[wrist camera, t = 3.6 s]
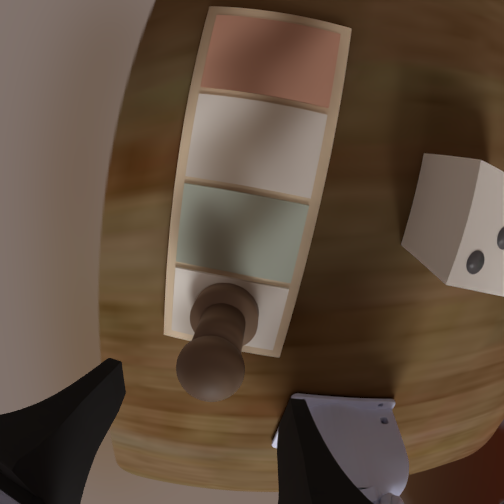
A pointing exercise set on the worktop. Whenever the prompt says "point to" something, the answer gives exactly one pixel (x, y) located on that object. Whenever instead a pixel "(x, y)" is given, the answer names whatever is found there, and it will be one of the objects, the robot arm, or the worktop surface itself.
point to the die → (459, 222)
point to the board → (253, 163)
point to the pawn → (217, 342)
